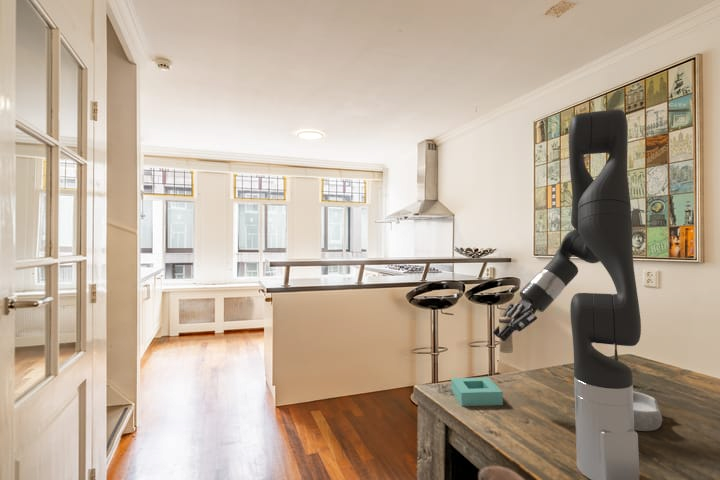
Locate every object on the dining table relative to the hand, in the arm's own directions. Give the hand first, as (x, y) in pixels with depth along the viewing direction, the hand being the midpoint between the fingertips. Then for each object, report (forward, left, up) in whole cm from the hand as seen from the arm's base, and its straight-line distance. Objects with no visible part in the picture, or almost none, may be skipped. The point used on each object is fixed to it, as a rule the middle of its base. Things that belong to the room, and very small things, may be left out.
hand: (498, 336), depth 102 cm
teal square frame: (+5, +5, -18) cm, 19 cm away
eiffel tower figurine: (+13, -40, -19) cm, 46 cm away
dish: (-10, -27, -18) cm, 34 cm away
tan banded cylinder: (0, -2, -4) cm, 5 cm away
